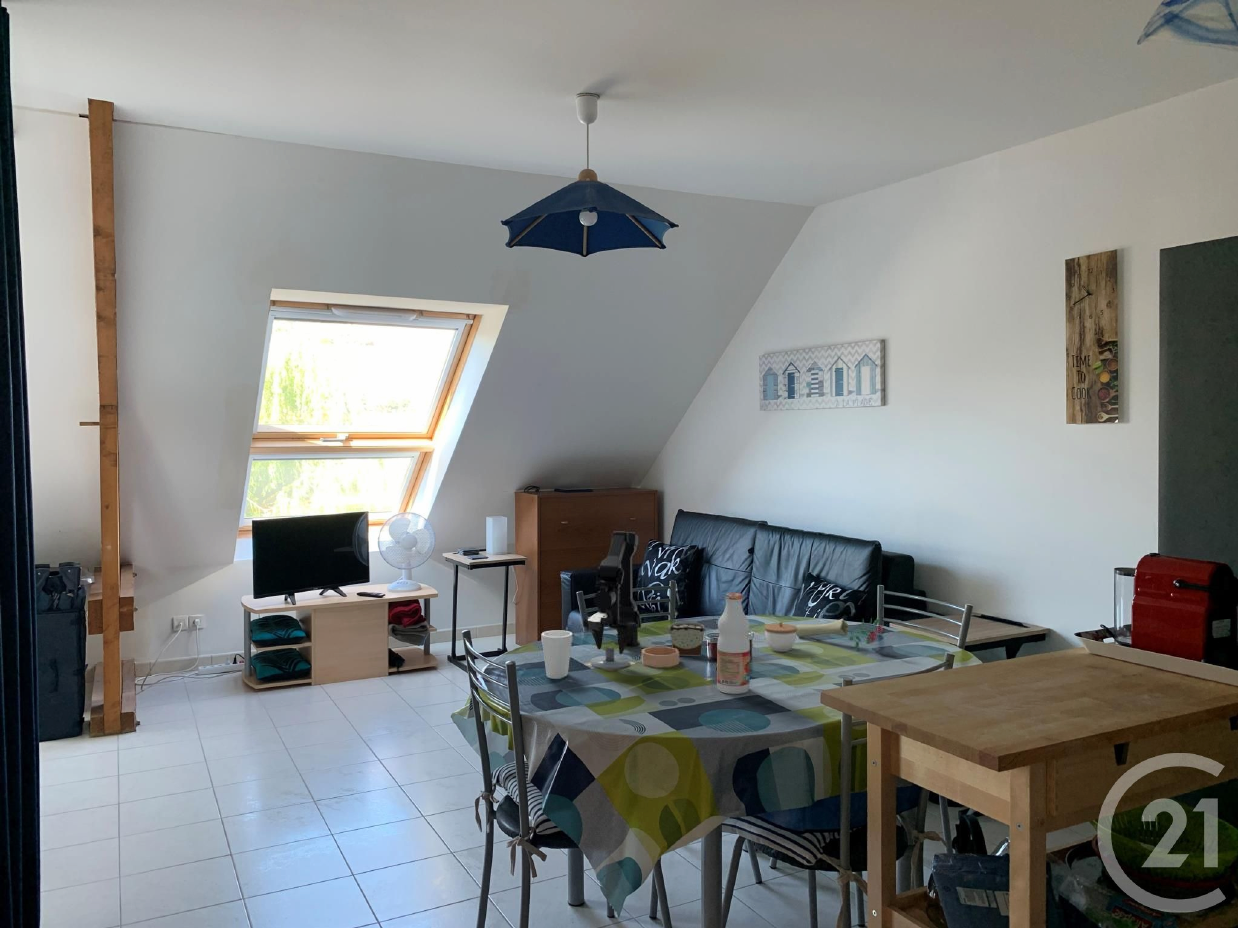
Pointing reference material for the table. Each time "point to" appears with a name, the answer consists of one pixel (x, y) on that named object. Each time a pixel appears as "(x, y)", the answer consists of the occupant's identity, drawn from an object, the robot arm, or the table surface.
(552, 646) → the foam cup
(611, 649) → the lid
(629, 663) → the mat
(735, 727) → the table surface
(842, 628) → the flower vase
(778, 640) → the lidded jar
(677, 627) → the food container
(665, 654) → the bowl
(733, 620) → the fruit juice
